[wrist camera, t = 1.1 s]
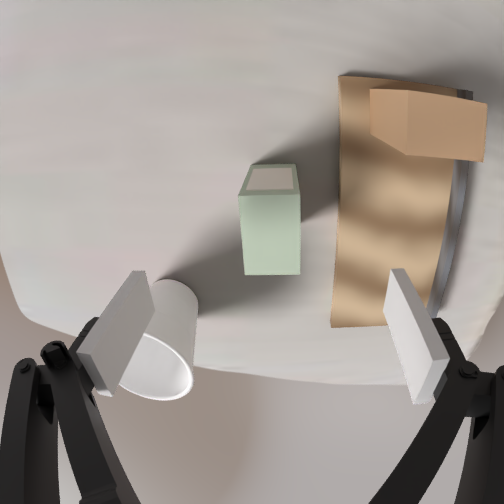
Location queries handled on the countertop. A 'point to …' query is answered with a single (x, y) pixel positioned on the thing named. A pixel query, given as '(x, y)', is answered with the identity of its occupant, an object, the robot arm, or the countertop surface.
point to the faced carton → (429, 124)
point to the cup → (165, 345)
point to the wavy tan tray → (390, 211)
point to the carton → (270, 220)
